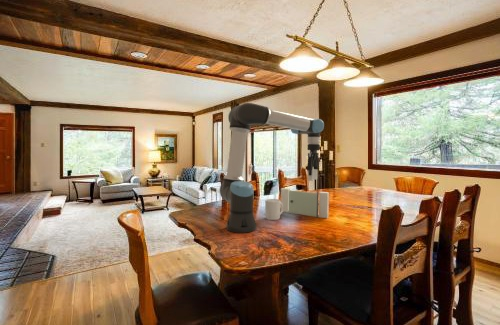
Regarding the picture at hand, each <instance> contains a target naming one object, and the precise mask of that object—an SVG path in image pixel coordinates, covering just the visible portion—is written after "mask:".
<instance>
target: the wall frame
mask: <svg viewBox="0 0 500 325" xmlns="http://www.w3.org/2000/svg"><path fill="white" fill-rule="evenodd" d="M289 190H291V188H285V187H282V188H280V202H281V203H282V204H283V207H282V205H280V212H281V211H282V210H283V212H282V213H288V208H289ZM318 192H319V196H318V218H323V219H328V218H329V212H330V211H329V206H330V204H329V203H330V192H327V191H318ZM293 214H295V213H293ZM295 215H296V214H295ZM300 215H302V214H300ZM302 216H303V215H302ZM307 216H309V215H307ZM309 217H310V216H309ZM313 217H315V216H313ZM315 218H316V217H315Z"/></svg>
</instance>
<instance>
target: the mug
mask: <svg viewBox="0 0 500 325" xmlns="http://www.w3.org/2000/svg"><path fill="white" fill-rule="evenodd" d="M281 205H282V207H283V204H282V203H281V199H278V198H267V199H265V206H264V212H265V213H264V217H265V219H266V220H269V221H277V220H279V219H280V217H281V215H282V214H283V213H284V212H283V210H282V211H281Z"/></svg>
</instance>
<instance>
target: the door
mask: <svg viewBox="0 0 500 325" xmlns="http://www.w3.org/2000/svg"><path fill="white" fill-rule="evenodd" d="M319 192H320V191H318V190H317V191H316V192H310V191H309V192H308V191H300V190H291V189H290V190H289V208H288V213H289V214H294V213H295V215H301V214H302V216H308V215H309V217H314V216H315V218H319V217H318V215H319Z"/></svg>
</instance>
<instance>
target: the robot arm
mask: <svg viewBox="0 0 500 325" xmlns="http://www.w3.org/2000/svg"><path fill="white" fill-rule="evenodd" d="M227 115H228V116H227V117H228V123H229V130H230V132H231V135H230V143H229V144H230V145H229V152H228V162H227V169H226V175H225V176H223V179H222V183H221V184H220V185H219V194H220V197H221V198H222V199H223V201H225V202H227V203H229V210H230V211H229V212H230V213H229V216H228V219H227V223H226V230H227V231H228V232H231V233H241V234H243V233H251V232H255V231H256V230H257V222H256V218H255V216H254V192H255V191H254V185H253V184H252V183H250V182H249V181H245V178H244V177H243V171H244V170H243V169H244V163H245V155H246V154H245V153H246V147H247V146H246V145H247V138H248V134H249V133H250V132H251V128H252V126H253V125H254V126H255V125H261V126H265V125H271V126H275V127H276V126H277V127H281V128H287V129H290V132H291V133H292V134H295V135H307V150H308V151H309V152H308V153H307V167H306V170H307V171H308V175H307V176H308V178H307V179H308V181H309V182H313V181H314V180H318V170H319V169H320V165H319V163H320V162H319V156H320V155H319V152H318V151H320V149H321V144H320V143H321V140H322V139H321V132H322V131H324V127H325V123H324V121H323V120H322V119H321V118H308V117H305V116H300V115H295V114H292V113H286V112H282V111H278V110H273V109H270V108H269V107H268V106H264V105H262V104H256V103H252V102H245V103H241V104H239V105H236V106H234V107H232V108H231V109H230V111H229V113H228V114H227Z"/></svg>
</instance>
